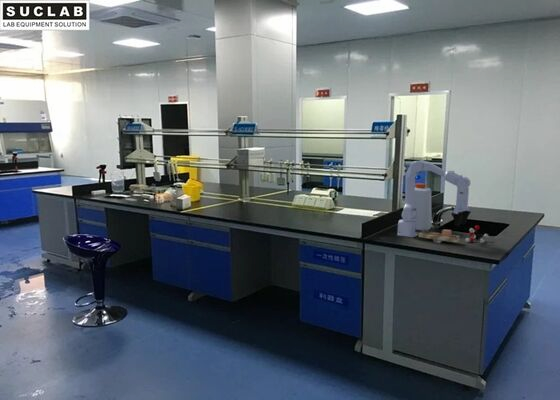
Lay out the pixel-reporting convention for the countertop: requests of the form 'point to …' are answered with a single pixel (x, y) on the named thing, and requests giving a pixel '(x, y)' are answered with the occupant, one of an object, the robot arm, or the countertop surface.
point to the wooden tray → (438, 236)
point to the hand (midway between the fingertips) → (460, 225)
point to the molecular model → (476, 235)
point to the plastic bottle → (423, 207)
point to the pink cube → (446, 233)
